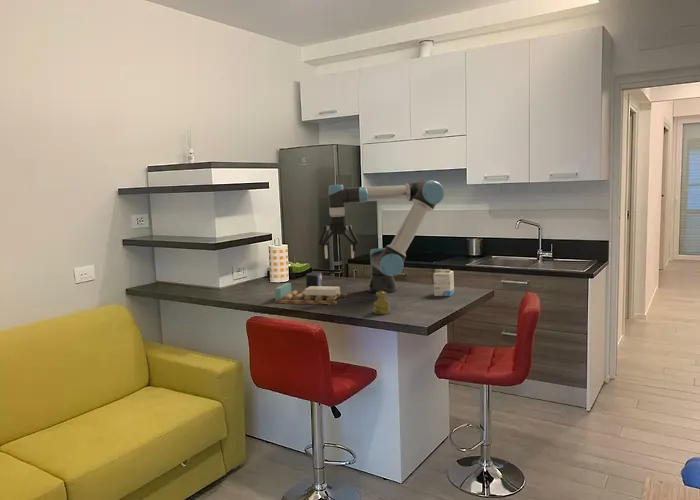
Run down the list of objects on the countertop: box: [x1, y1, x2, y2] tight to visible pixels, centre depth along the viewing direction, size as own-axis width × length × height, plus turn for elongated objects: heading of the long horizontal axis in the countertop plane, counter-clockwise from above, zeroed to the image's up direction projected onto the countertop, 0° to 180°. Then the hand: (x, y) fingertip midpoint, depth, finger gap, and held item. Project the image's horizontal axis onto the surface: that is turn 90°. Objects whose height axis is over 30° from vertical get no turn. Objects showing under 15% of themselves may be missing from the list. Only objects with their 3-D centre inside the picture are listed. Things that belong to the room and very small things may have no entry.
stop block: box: [274, 282, 292, 300], centre depth 287 cm, size 3×14×7 cm, turn 163°
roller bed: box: [274, 289, 348, 306], centre depth 283 cm, size 32×19×3 cm, turn 73°
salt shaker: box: [372, 291, 391, 315], centre depth 250 cm, size 7×8×10 cm
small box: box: [305, 271, 323, 288], centre depth 301 cm, size 11×6×10 cm, turn 168°
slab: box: [304, 285, 341, 296], centre depth 281 cm, size 16×8×3 cm, turn 73°
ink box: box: [432, 268, 455, 297], centre depth 282 cm, size 9×8×13 cm
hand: (339, 258), depth 278 cm, fingers open, 13 cm apart
